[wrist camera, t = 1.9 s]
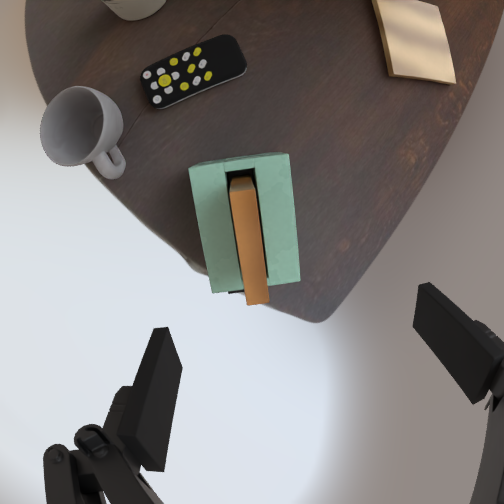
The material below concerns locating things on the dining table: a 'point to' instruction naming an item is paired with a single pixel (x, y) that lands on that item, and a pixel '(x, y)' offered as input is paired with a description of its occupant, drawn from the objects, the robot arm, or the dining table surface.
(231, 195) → the toast
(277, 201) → the toaster
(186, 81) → the remote control
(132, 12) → the travel mug
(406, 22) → the board
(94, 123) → the mug
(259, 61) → the dining table surface
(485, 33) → the dining table surface
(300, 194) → the dining table surface
